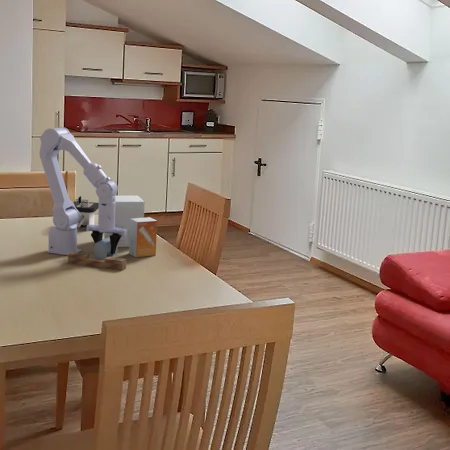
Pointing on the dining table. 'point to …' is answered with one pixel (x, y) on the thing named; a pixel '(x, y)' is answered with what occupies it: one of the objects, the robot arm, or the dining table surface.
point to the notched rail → (97, 261)
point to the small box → (142, 237)
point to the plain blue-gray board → (103, 249)
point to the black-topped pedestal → (85, 211)
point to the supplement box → (126, 215)
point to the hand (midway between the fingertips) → (106, 253)
